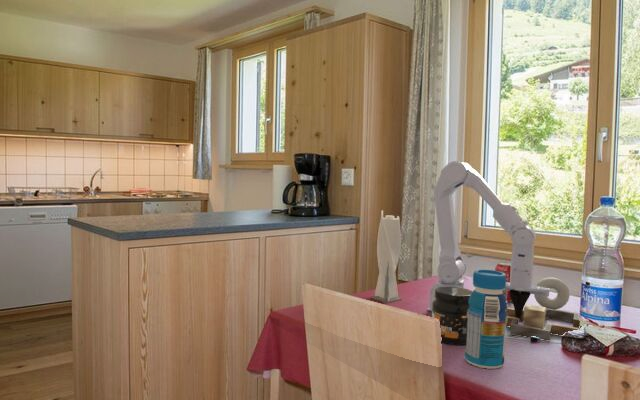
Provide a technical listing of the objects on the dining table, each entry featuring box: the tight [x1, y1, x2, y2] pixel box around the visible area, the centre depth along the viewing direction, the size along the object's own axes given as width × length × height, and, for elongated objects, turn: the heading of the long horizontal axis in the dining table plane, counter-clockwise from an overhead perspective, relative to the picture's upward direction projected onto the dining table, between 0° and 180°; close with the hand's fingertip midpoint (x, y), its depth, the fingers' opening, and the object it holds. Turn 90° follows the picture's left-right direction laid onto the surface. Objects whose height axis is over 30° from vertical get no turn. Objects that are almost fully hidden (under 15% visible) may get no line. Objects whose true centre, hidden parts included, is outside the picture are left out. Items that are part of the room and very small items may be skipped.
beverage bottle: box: [464, 269, 509, 370], centre depth 109 cm, size 8×8×20 cm
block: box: [522, 303, 546, 329], centre depth 137 cm, size 5×5×5 cm
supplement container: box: [431, 286, 474, 346], centre depth 124 cm, size 10×10×12 cm
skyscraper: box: [370, 210, 403, 304], centre depth 160 cm, size 8×8×28 cm
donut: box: [533, 277, 570, 310], centre depth 154 cm, size 10×4×10 cm, turn 72°
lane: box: [506, 307, 586, 341], centre depth 137 cm, size 22×23×4 cm
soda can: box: [494, 261, 512, 303], centre depth 164 cm, size 7×7×12 cm
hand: (518, 317), depth 139 cm, fingers closed
